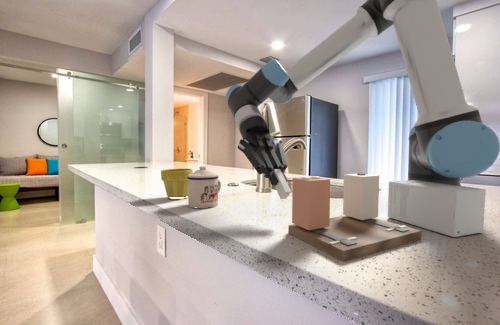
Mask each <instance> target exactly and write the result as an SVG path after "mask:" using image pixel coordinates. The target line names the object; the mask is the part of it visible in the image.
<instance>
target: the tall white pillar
mask: <svg viewBox="0 0 500 325" xmlns="http://www.w3.org/2000/svg"><path fill="white" fill-rule="evenodd" d="M379 196H380V175H378V174H368V173H367V174H366V173H362V172H360V173H347V174H343V197H342V198H343V199H342V200H343V201H342V206H343V208H342V216H345V215H346V216H350V217H353V218H356V219H360V220H366V219H371V218H379V200H380V199H379Z"/></svg>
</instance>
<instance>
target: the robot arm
mask: <svg viewBox="0 0 500 325" xmlns="http://www.w3.org/2000/svg"><path fill="white" fill-rule="evenodd" d="M392 26H393V27H394V30H395V34H396V38H397V41H398V45H399V49H400V52H401V55H402V60H403V62H404V66H405V70H406V73H407V77H408V80H409V84H410V88H411V91H412V95H413V98H414V101H415V102H414V103H415V106H416V110H417V112H418V119H417V120H416V121H415V122H414V124H413V127H411V129H410V130H409V136H408V143H409V144H408V165H407V166H408V167H407V168H408V170H407V171H408V172H407V180H418V181H426V182H434V183H441V184H449V185H457V186H462V185H461V179H464V178H471V177H475V176H477V175H480V174H482V173H484V172H486V171H487V170H488V169H489V168H491V166H493V164H494V163H495V162H496V160H497V159H498V158H499V153H500V140H499V137H498V136H497V134H496V132H495V131H494V130H493V129H492V128H491V127H489V126H488V125H486V124H484V123H483V121H482V117H481V115H480V111H479V108H477V107H476V106H473V105H470V104H469V103H467V99H466V97H465V93H464V90H463V86H462V83H461V80H460V76H459V73H458V70H457V66H456V62H455V59H454V55H453V53H452V48H451V45H450V42H449V38H448V35H447V32H446V28H445V24H444V21H443V18H442V14H441V11H440V7H439V4H438V0H366V1H365V2H364V3H363V4H362V5H360V6H359V7H358V8H357V10H356V14H355V15H354V16H352V17H351V18H350V19H349V20H347V21H346V22H345V23H344V24H342V25H341V26H340V27H338V28H337V29H336V30H335V31H334V32H332V33H331V34H330V35H329V36H327V37H326V38H324V40H322V41H321V42H320V43H318V44H317V45H315V47H314V48H312V49H310V50H309V51H308V52H307V53H306V54H305V55H303V56H302V57H301V58H300V59H299V60H297V61H296V62H295V63H293V64H292V65H291V66H289V67H288V68H287V69H286V70H285V69H284V67H283V66H282V65H281V63H280V62H279V61H278V60H277V59H276V58H272V59H270V60H269V61H268V62H266V63H265V64H264V65H263V66H261V68H260V69H259V70H258V71H256V73H255V74H253V76H251V78H249V79H248V80H247V81H246V82H245V83H244V84H243V83H237V84H233V85H231V86H230V87H229V88H228V89H227V91H226V93H225V94H226V95H225V100H226V102H227V106H228V109H229V110H230V112H231V115H232V116H233V118H234V122H235V123H236V126H237V127H238V130H239V133H240V135H241V138H242V139H241V138H240V139H239V142H238V144H237V149H238V150H239V151H241V152H242V153H243V154H244V156H245V157H246V159H247V160H248V161H249V163H250V164H251V166H252V167H253V168H254V169H255V171H256V172H257V174H259V175H262V174H264V175H263V176H264V178H266V179H268V180H269V182H270V185H272V186H273V187H274V188H275V190H276V192H277V194H278V197H279V199H280V200H286V199H287V198H288V197H289V196H290V194H292V190H291V188H290V186H289V184H288V178H287V176H286V174H285V172H286V169H287V168H288V167H289V164H288V160H287V157H286V153H285V149H284V147H283V146H284V141H283V140H282V139H280V140H276V139H275V138H274V136H273V135H272V134H271V133H270V129H269V128H270V127H269V126H268V124H267V122H266V121H265V119H264V117H263V115H262V112H261V111H260V110H259V106H260V105H262V104H263V103H264V102H266V101H267V100H268V99H269V100H270V101H272V102H273V103H276V104H279V105H280V104H281V105H283V104H287V103H289V102H290V101H291V100H292V97H293V96H294V94H295V93H296V92H298V91H299V90H301V89H302V88H304V87H305V86H306V85H307V84H309V83H310V82H311V81H313V80H314V79H315V78H317V77H318V76H320V75H321V74H322V73H323V72H325V71H326V70H328V69H329V68H330V67H332V66H333V65H334V64H336V63H337V62H338V61H340V60H341V59H342V58H344V57H345V56H346V55H348V54H349V53H351V52H352V51H353V50H355V49H356V48H357V47H358V46H360V45H361V44H362V43H364V42H365V41H367V40H368V39H369V38H376V37H378V36H379V35H381V34H382V33H383V32H385V31H387V30H388V29H389V28H390V27H392Z"/></svg>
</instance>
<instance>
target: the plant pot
mask: <svg viewBox="0 0 500 325" xmlns="http://www.w3.org/2000/svg"><path fill="white" fill-rule="evenodd" d="M192 173H194V172H193V169H192V168H167V169H161V170H160V177H161V181H162V182H163V184H164V189H165V192H166V196H168V197H186V196H188V178H187V177H188V175H189V174H192ZM168 197H167V198H168Z"/></svg>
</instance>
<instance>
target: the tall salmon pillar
mask: <svg viewBox="0 0 500 325" xmlns="http://www.w3.org/2000/svg"><path fill="white" fill-rule="evenodd" d="M291 185H292V188H291V189H292V190H291V194H292V196H291V197H292V200H291V207H292V208H291V223H292V224H295V225H298V226H300V227H302V228H304V229H307V230H314V229H319V228H324V227H329V223H330V218H331V217H330V215H331V213H330V212H331V211H330V210H331V208H330V206H331V179H330V178H323V177H321V176H316V175H314V176H301V177H292V184H291Z"/></svg>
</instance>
